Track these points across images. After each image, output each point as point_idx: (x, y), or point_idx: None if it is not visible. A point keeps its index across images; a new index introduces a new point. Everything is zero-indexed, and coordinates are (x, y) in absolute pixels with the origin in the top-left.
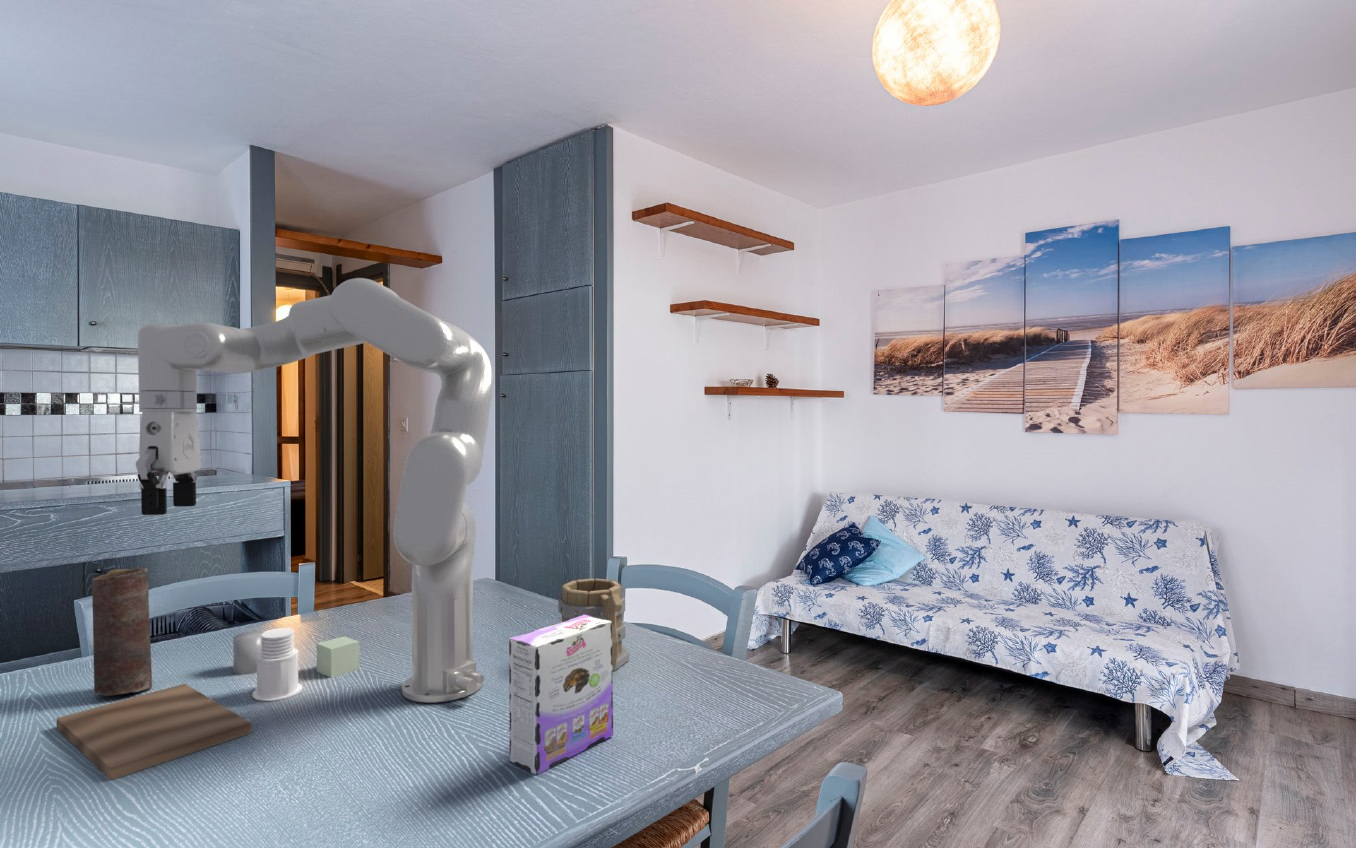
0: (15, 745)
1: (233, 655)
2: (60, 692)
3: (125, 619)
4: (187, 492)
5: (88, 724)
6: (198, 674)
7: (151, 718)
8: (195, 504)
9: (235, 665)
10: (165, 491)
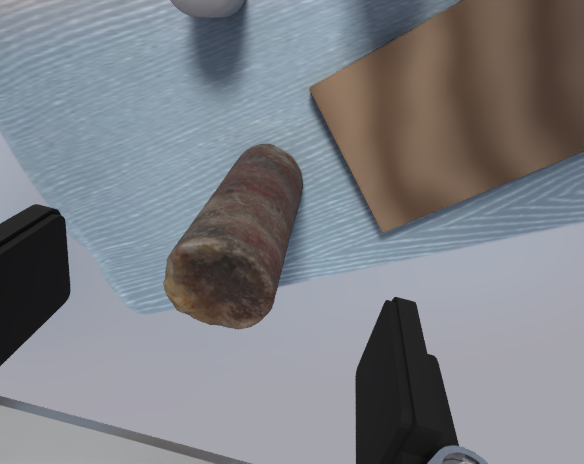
0: (417, 254)
1: (217, 16)
2: None
3: (284, 223)
4: (6, 285)
5: (435, 190)
6: (217, 82)
7: (465, 109)
8: (41, 206)
9: (232, 11)
10: (429, 406)
